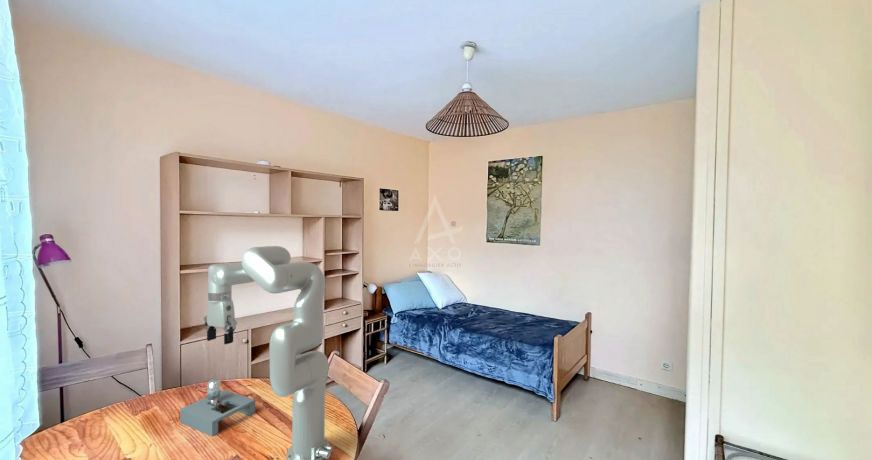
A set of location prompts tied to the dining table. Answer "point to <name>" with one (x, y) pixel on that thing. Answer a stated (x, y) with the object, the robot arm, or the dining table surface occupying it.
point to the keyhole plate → (205, 416)
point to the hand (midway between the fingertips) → (220, 341)
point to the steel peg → (213, 393)
